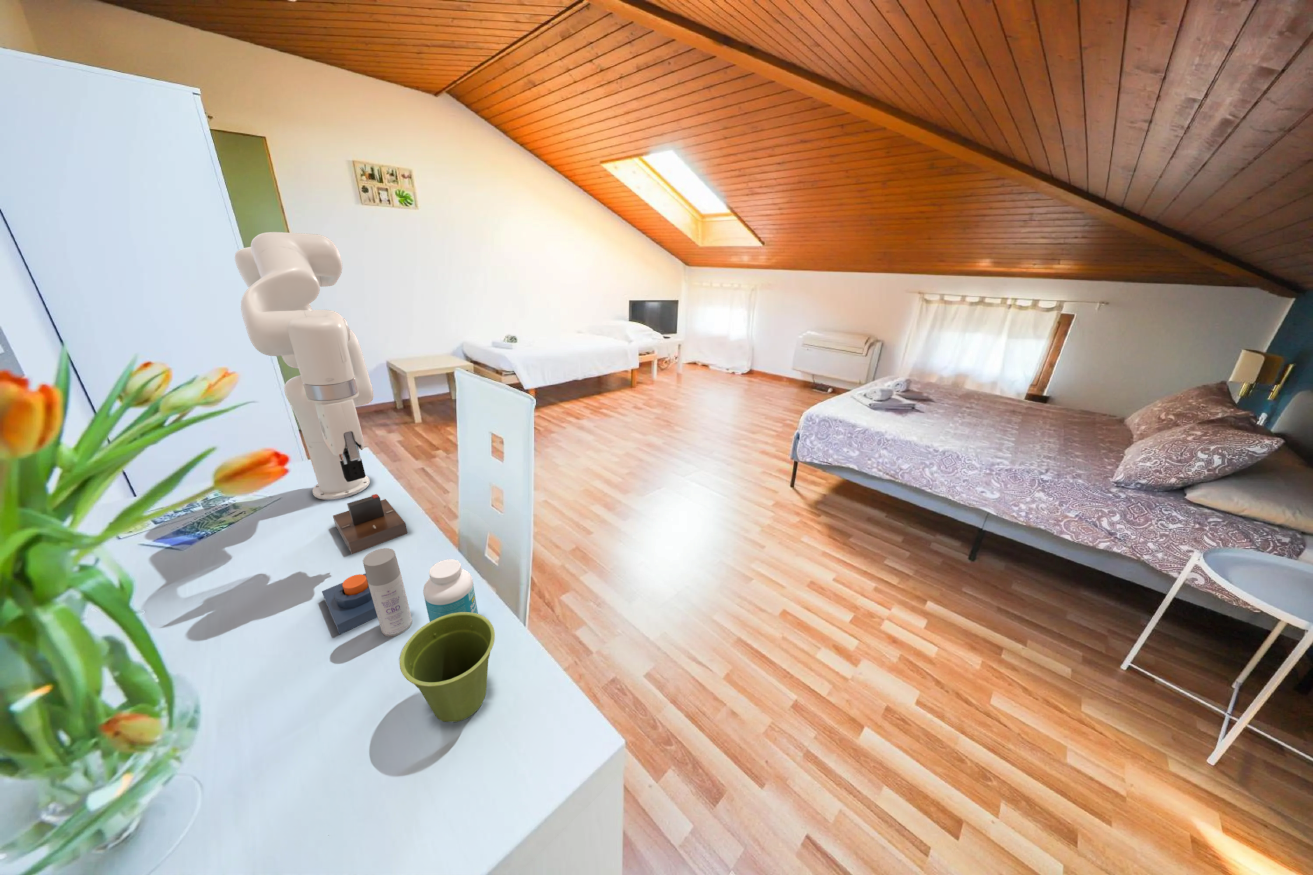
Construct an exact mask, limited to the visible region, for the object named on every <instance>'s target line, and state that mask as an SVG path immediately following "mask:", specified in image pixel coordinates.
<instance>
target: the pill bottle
mask: <svg viewBox="0 0 1313 875" xmlns="http://www.w3.org/2000/svg"><path fill="white" fill-rule="evenodd" d="M428 575H429V578H428V579H427V580H426V581H425V583H424V585H423V590H422V594H423V598H424V599H423V600H424V603H425V607H426V612H427V617H428V620H429V622H431V621H433V620H435V619H437V618H439V617H442V616H445V615H448V614H452V613H458V612H471V613H477V614H479V611H478V605H477V598H476V594H475V592H476V591H475V586H474V581H473V580H474V579H473V576H472V574H471V573H470V572H469V571H467V570H466V569H464V568H463V567H462V565H461V562H460V561H459V560H457V559H455V558H454V559H453V558H449V559H448V558H447V559H444V560H439V561H438V562H436V563H435V564H433V565H432V566H431V567H430V569H429V572H428Z"/></svg>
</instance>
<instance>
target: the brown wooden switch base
mask: <svg viewBox="0 0 1313 875" xmlns="http://www.w3.org/2000/svg"><path fill="white" fill-rule="evenodd" d="M380 500H381V504H382V508H383V512H384V516H382V517H379V518H376V519H373V520H369V521H366V522H363V523H360V524H357V525H354V524H353V522H352V519H351V516H350V512H349V510H347V511H343V512H340V513H336V514H333V515H332V518H333V522H334V525H335V527H336V530H337V531H338V533H339V534H340V537H341V538H342V540H343V541H344V543H345V545H346V547H347V548H348V550H349V552H350V554H351V555H354V554H357V553H359V552H362V551H365V550H367V549H370V548H373V547H375V546H378V545H381V544H383V543H386V542H389V541H391V540H394V539H396V538H399V537H402V536H405V535H408V528H407V525H406V521H404V519H403V518H402V517H401V516H400V514H399V513H398V512H397V511H396V510H395V508H394V507H393V506H392V505H391V503H390V502H389V501H388V500H387V499H386V498H384V499H380Z"/></svg>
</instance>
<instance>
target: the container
mask: <svg viewBox="0 0 1313 875" xmlns="http://www.w3.org/2000/svg"><path fill="white" fill-rule="evenodd" d="M362 564H363V568H364V573H366V577H367V581H368V585H369V589H370V592H371V596H372V599H373V603H374V606H375V610H376V613H377V617H376V618H377V620H378V623H379V627H380V630H381V633H382V635H383V636H385V637H390V638H391V637H396V636H400V635H401V634H403V633H405V632H406V631H408V630H409V629H410V628H411V627H412V624H413V619H412V618H413V617H412V613H411V609H410V605H409V600H408V596H407V593H406V588H405V584H404V580H403V576H402V571H401V568H400V565H399V561H398V558H397V555H396V551H395V550H394V549H393V548H389V547H384V548H378V549H375V550H373V551H371V552H369V553H367V554H366V555H365V556H364V557H363V559H362Z"/></svg>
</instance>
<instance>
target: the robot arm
mask: <svg viewBox="0 0 1313 875" xmlns="http://www.w3.org/2000/svg"><path fill="white" fill-rule="evenodd" d="M234 263H235V265H236V268H237V271H238V273H239V275H240V277H241V279H242V280H243V282H244V283H245V285H246V286H247V289H246V290H245V291H244V293H243V295H242V297H241V300H240V312H241V317H242V321H243V323H244V326H245V331H246V333H247V336H248V339H249V340H250V343H251V344H252V346H253V347H254V348H255V350H256V351H258V353H260V354H262V355H265V356H271V357H281V358H282V361H283V362H284V363H285V364H286V365H287V366H288V367H290V368H293V369H298V371H299V374H300V375H295V376H293V377H291V378H290V379H287V381H286V382H285V384H284V385H283V386H284V387H283V390H284V394H285V397H286V400H287V402H288V403H289V405H290V408H291V409H292V412H293V413H294V416H295V418H296V420H297V422H298V425H299V428H300V430H301V433H302V437H303V440H304V444H305V446H306V449H307V453H308V455H309V459H310V462H311V465H312V470H313V472H314V476H315V478H316V481H317V482H316V483H317V484H316V485H314V487H313V488H312V494H313V496H314V497H315V498H316V499H319V500H329V501H330V500H339V499H345V498H347V497H351V496H354V495H357V494H359V493H361V492H362V491H364V490H366V489H367V488H368V487H369V485H370V483H371V480H370V477H369V476H368V475H366V472H365V468H364V464H363V460H362V457H361V454H360V451H363V450H364V449H365V440H364V435H363V432H362V427H361V424H360V418H359V415H358V412H357V409H356V407H359V406H365V405H368V404H370V403H372V401H373V400H374V397H375V396H374V395H375V394H374V387H373V385H372V384H373V383H372V380H371V377H370V374H369V370H368V368H367V363H366V360H365V357H364V353H363V350H362V347H361V344H360V341H359V339H358V337H357V335H356V334H355V332H354V331H353V330H352V329H351V328H350V327H349V323H348V321H347V319H345V317H343V316H342V314H340V313H339V312H337V311H335V310H331V309H313V308H312V306H311V305H310V304H311V303H313V302H314V301H315V300H316V299H317V298H318V296H319V294H320V290H321V288H322V287H323V288H324V287H325V288H326V287H332V286H334V285H336V283H337V282H338V280H339V279H340V277H341V274H342V272H343V261H342V256H341V253H340V251H339V249H338V247H337V246H336V244H335V243H334V241H332V240H331V239H330V238H328V237H327V236H325V235H323V234H317V233H303V232H301V233H300V232H284V231H283V232H282V231H267V232H262V233H259V234H257V235H256V236H254V237H253V238H252V240H251V243H250V246H248V247H243V248H240V249H238V250H236V252H235V254H234Z"/></svg>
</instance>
